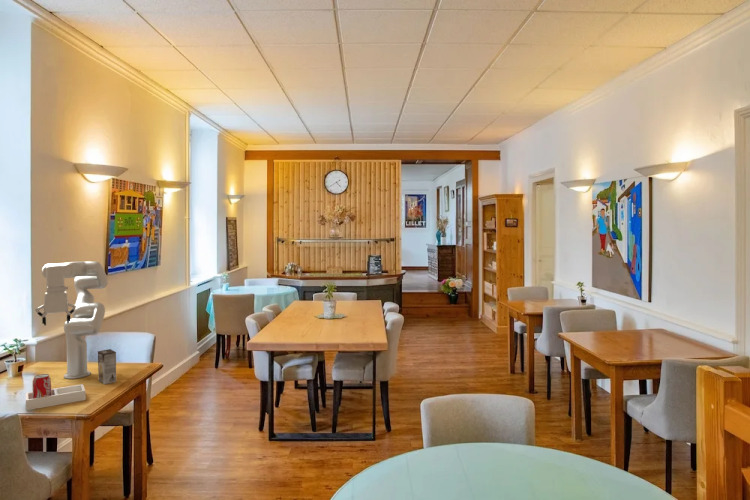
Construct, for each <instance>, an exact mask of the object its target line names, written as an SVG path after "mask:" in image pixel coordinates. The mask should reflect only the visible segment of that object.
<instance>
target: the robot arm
mask: <svg viewBox="0 0 750 500" xmlns="http://www.w3.org/2000/svg"><path fill="white" fill-rule="evenodd" d="M41 274H42V276H43V277H44V279H45V280H46V282H45V283H46V292H44V296H43V297H44V298H43V304H42V305H40V306H38V307H36V308H35V309H34V311H35V312H36V313H37V315H39V317H41V318H42V319H41V321H42V324H44V325H43V326H47V317H46V316H47V315H48V314H57V313H66V321H65V322H64V323H63V324H64V325H63V331H64V332H63V333H64V336H65V340H66V341H65V342H66V344H65V345H66V373H65V374H63V378H65V379H69V380H72V379H74V380H75V379H80V378H85V377H88V376H90V375H91V373H92V372H91V371H90V370H88V345H87V340H86V339H85V338H84V337H85V336H96V335H98V334H99V333H100V331H101V328H102V325H103V322H104V318H105V315H106V308H105V307H106V306H105V305H104V303H101V302H94V301H95V298H94V295H93V294H92V293H91V292H90V291H89V290H96V289H97V290H101V289H105V288H106V287H108V285H109V284H108V283H109V279H108V276H107V274H106V271H105V269H104V267H103V265H102V264H101V263H100V262H99V261H95V260H93V261H92V260H91V261H89V260H88V261H87V260H86V261H85V260H84V261H83V260H82V261H68V262H58V263H46V264H44V266H43V267H42V268H41ZM70 278H72V279H74V280H73V281H74V282H73V284H74V289H75V293H76V301H75V303H74V304H72V303H69V300H68V293H67V290H68V289H69V286H65V279H70ZM69 307H71V310H69ZM40 310H43V312H41V311H40ZM71 315H72V317H73V318H71ZM83 336H84V337H83Z"/></svg>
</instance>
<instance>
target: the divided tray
mask: <svg viewBox="0 0 750 500" xmlns="http://www.w3.org/2000/svg"><path fill="white" fill-rule="evenodd" d="M86 398H87V397H86V388H85V386H84V384H83V383H81V384H75V385H74V384H73V385H68V386H63V387H56V388H55V387H54V388H51V396H46V397H40V398H34V399H33V391H30V392H26V393H25V410H26V411H31V410H35V409H36V408H37V409H41V408H42V409H43V408H47V407H53V406H58V405H65V404H70V403H76V402H82V401H86Z"/></svg>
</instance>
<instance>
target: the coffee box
mask: <svg viewBox="0 0 750 500" xmlns="http://www.w3.org/2000/svg"><path fill="white" fill-rule="evenodd" d="M97 363H98V365H97V367H98V369H97V372H98V375H97V376H98V381H99V382H100V383H101V384H103V385H107V384H113V383H116V382H117V352H116V351H114V350H112V349H111V348H110V349H103V350H99V351H97Z"/></svg>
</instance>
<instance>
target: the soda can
mask: <svg viewBox="0 0 750 500" xmlns="http://www.w3.org/2000/svg"><path fill="white" fill-rule="evenodd" d="M33 377H34V378H33V380H32V392H33V399H34V398H40V397H46V396H51V389H52V379H51V377H50V374H49V373H41V374H37V375H34V376H33Z"/></svg>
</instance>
